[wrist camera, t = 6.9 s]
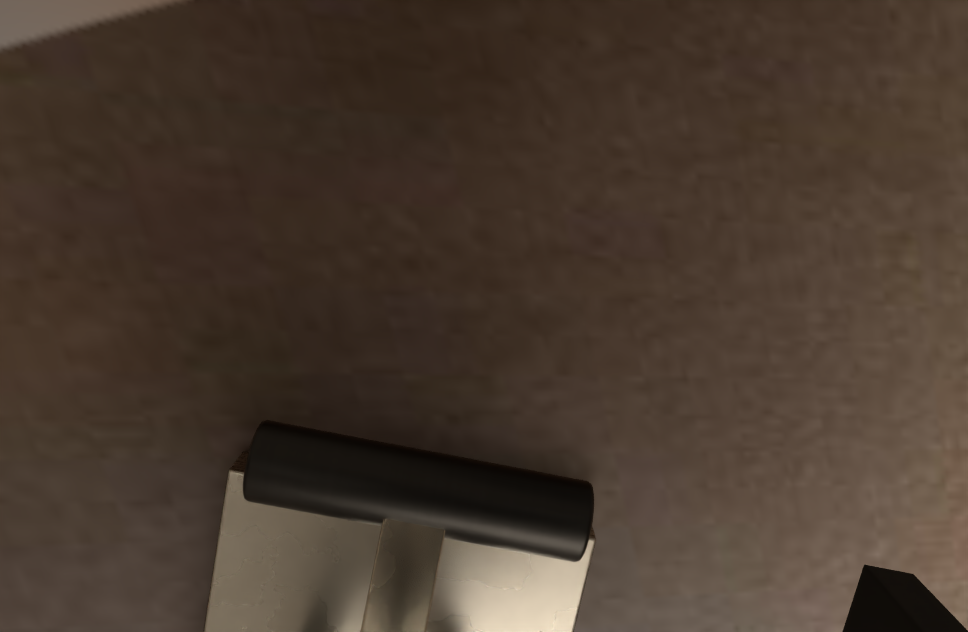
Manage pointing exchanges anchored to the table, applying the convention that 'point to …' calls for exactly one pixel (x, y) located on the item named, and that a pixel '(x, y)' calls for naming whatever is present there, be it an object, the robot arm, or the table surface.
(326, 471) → the lever
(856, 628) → the robot arm
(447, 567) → the lever base
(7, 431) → the table surface
